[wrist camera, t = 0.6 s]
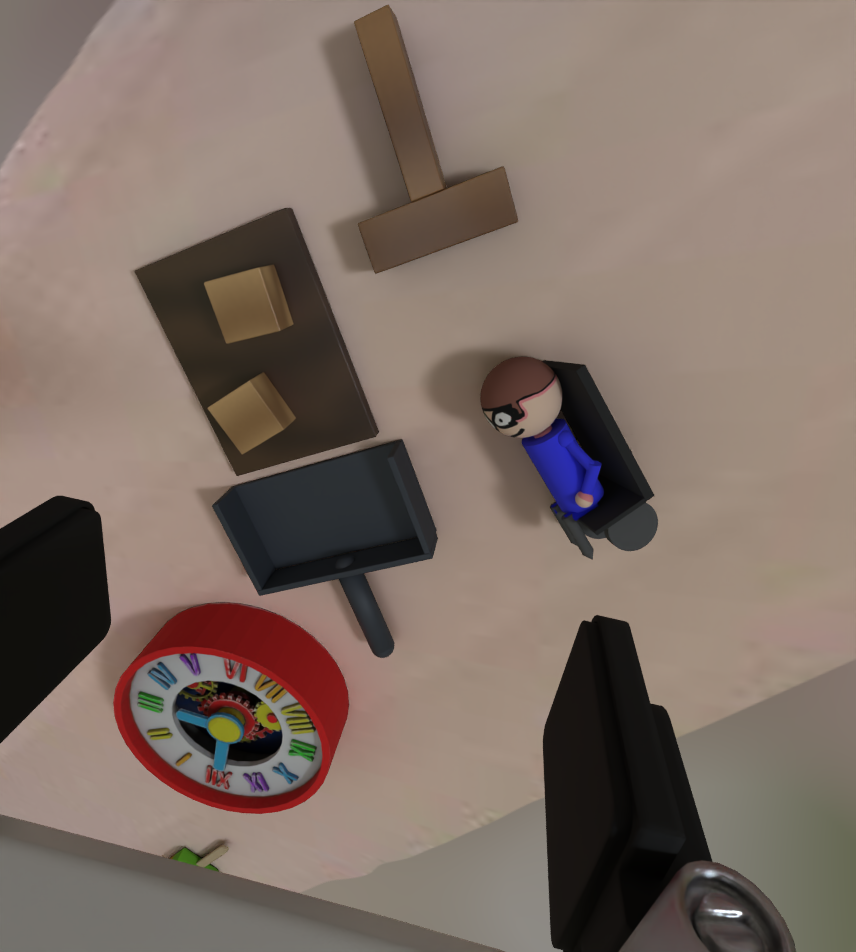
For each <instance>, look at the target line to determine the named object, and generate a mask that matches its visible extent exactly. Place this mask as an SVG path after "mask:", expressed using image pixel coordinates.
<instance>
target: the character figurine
mask: <svg viewBox="0 0 856 952" xmlns="http://www.w3.org/2000/svg"><path fill="white" fill-rule="evenodd" d="M481 406H482V410H483V413H484V415H485V417H486V419H487V420H488V422H489V423H490V424H491V425H492V426H493V427H494V428H495V429H496V430H498V431H499V432H501V433H503V434H505V435H507V436H511V437H516V438H523V439H522V445H523V447H524V448H525V450H526V452H527V453H528V455H529V457H530V458H531V460H532V462H533V463H534V465H535V467H536V468H537V470H538V472H539V474H540V475H541V477H542V479H543V480H544V482H545V484H546V485H547V487H548V489H549V490H550V492H551V494H552V495H553V497H554V499H555V500H556V502H554V503H553V504H551V506H550V508H551V510H552V512H553V513H554V515H555V517H556V518H557V520H558V522H559V523H560V525H561V527H562V528H563V530H564V532H565V533H566V535H567V537H568V538H569V540H570V542H571V543H573V544H575V545H577V546H578V547H579V549H580V550H581V552H582V555H584V556H586V557H588V558H590V559H592V560H593V548H592V546H591V544H590V543H589V541H588V539H587V538H586V536H585V535H587V536H589V537H591V538H595V539H602V538H607V539H608V540H609V541H610V542H611V543H612V544H613V545H615V546H616V547H617V548H619V549H621V550H625V551H635V550H638V549H641V548H643V547H644V546H646V545H647V544H648V543H649V542H650V541H651V540H652V538H653V537H654V535H655V533H656V530H657V526H658V519H657V515H656V512H655V511H654V509H653V508H652V507H651V506H650V505H649V504H647V503H646V501H647V500H649V499H650V498H652V497H653V496H654V494H653V492H652V490H651V488H650V486H649V484H648V483H647V481H646V479H645V477H644V475H643V473H642V471H641V469H640V467H639V466H638V464H637V462H636V460H635V458H634V456H633V454H632V452H631V451H630V449H629V447H628V445H627V443H626V441H625V439H624V437H623V435H622V434H621V432H620V430H619V428H618V426H617V424H616V422H615V420H614V419H613V417H612V415H611V413H610V411H609V409H608V407H607V405H606V403H605V402H604V400H603V398H602V396H601V394H600V392H599V390H598V388H597V387H596V385H595V383H594V381H593V379H592V377H591V375H590V373H589V372H588V370H587V368H586V366H585V365H581V364H573V363H564V362H555V361H546V360H543V361H540V360H537V359H535V358H531V357H514V358H510V359H508V360H505V361H503V362H501V363H500V364H498V365H497V366H496V367H494V368H493V369H492V370H491V371H490V373H489V374H488V375H487V377H486V379H485V381H484V383H483V386H482V390H481ZM560 409H561V410H562V412H563V414H564V416H565V417H566V419H567V421H568V423H569V425H570V426H571V428H572V430H573V432H574V433H575V435H576V437H577V439H578V441H579V442H580V444H581V446H582V448H583V449H582V448H581V447H580V446H579V444H578V442H577V441H576V439H575V437H574V435H573V434H572V432H571V430H570V428H569V426H568V425H567V423H566V421H565V420H564V419H556V417H557V416H558V414H559V411H560ZM584 451H585V452H584Z"/></svg>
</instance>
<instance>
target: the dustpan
mask: <svg viewBox="0 0 856 952" xmlns="http://www.w3.org/2000/svg"><path fill="white" fill-rule="evenodd" d="M212 507H213V509H214V511H215V513H216V515H217V516H218V518H219V520H220V522H221V524H222V526H223V528H224V530H225V532H226V534H227V535H228V537H229V539H230V541H231V543H232V545H233V547H234V549H235V551H236V553H237V554H238V556H239V558H240V560H241V562H242V564H243V566H244V568H245V570H246V571H247V573H248V575H249V577H250V579H251V581H252V583H253V585H254V587H255V589H256V590H257V592H258V594H259V596H261V595H266V594H270V593H275V592H280V591H284V590H289V589H293V588H298V587H303V586H307V585H312V584H317V583H321V582H326V581H330V580H335V579H339V581H340V583H341V585H342V587H343V590H344V592H345V594H346V596H347V598H348V600H349V603H350V605H351V607H352V609H353V611H354V613H355V616H356V618H357V620H358V622H359V624H360V626H361V629H362V631H363V633H364V635H365V637H366V639H367V642H368V644H369V646H370V648H371V650H372V652H373V654H374V655H375V656H377V657H380V658H385V657H388V656H389V655H390V654H391V653H392V652H393V650H394V641H393V638H392V636H391V634H390V632H389V629H388V627H387V625H386V622H385V620H384V618H383V616H382V613H381V611H380V609H379V607H378V604H377V602H376V600H375V598H374V595H373V593H372V591H371V588H370V586H369V584H368V582H367V579H366V577H365V575H364V573H367V572H372V571H377V570H381V569H386V568H390V567H395V566H400V565H404V564H409V563H414V562H418V561H423V560H427V559H432V558H433V555H434V551H435V547H436V543H437V539H438V537H437V535H436V528H435V525H434V522H433V520H432V517H431V514H430V512H429V509H428V506H427V504H426V501H425V498H424V496H423V493H422V490H421V488H420V485H419V482H418V480H417V477H416V474H415V472H414V469H413V466H412V464H411V461H410V458H409V456H408V453H407V450H406V448H405V445H404V442H403V440H402V439H401V440H398V441H394V442H391V443H387V444H384V445H380V446H376V447H373V448H369V449H366V450H362V451H358V452H355V453H351V454H348V455H344V456H340V457H337V458H333V459H330V460H326V461H323V462H319V463H315V464H312V465H308V466H305V467H301V468H297V469H294V470H290V471H287V472H283V473H279V474H276V475H272V476H269V477H265V478H262V479H258V480H254V481H251V482H247V483H244V484H240V485H236V486H233V487H231V488H230V489H229V490H228V491H227V492H226V493H225V494H224V495H223V496H222V497H221V498H220V499H218V500H217V501H216V502H215V503H214V504H213V505H212ZM414 537H417V538H414ZM410 538H412V539H410ZM406 539H408V540H406ZM401 540H404V541H401ZM397 541H399V542H397ZM392 542H395V543H392ZM388 543H390V544H388ZM384 544H386V545H384ZM379 545H382V546H379ZM375 546H377V547H375ZM371 547H373V548H371ZM366 548H369V549H366ZM362 549H364V550H362ZM357 550H360V551H357ZM353 551H355V552H353ZM349 552H351V553H349ZM344 553H347V554H344ZM340 554H342V555H340ZM336 555H338V556H336ZM331 556H334V557H331ZM327 557H329V558H327ZM322 558H325V559H322ZM318 559H320V560H318ZM314 560H316V561H314ZM309 561H312V562H309ZM305 562H307V563H305ZM301 563H303V564H301ZM296 564H299V565H296ZM292 565H294V566H292ZM287 566H290V567H287ZM283 567H285V568H283ZM279 568H281V569H279ZM276 569H277V570H276Z"/></svg>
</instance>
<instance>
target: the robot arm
mask: <svg viewBox="0 0 856 952" xmlns="http://www.w3.org/2000/svg"><path fill="white" fill-rule="evenodd" d="M110 625H111V614H110V604H109V594H108V584H107V574H106V564H105V553H104V543H103V533H102V523H101V517H100V514H99V513H98V512H96V511H95V509H94V507H93V505H92V504H91V503H89V502H87V501H83V500H79V499H74V498H70V497H65V496H55V497H53V498H51V499H49V500H48V501H46V502H44V503H43V504H41V505H39V506H38V507H36V508H34V509H32V510H31V511H29V512H27V513H26V514H24V515H22V516H21V517H19V518H17V519H16V520H14V521H12V522H11V523H9V524H7V525H6V526H4V527H2V528H1V529H0V743H1V742H2V741H3V740H4V739H5V738H6V737H7V736H8V735H9V734H10V733H11V732H12V731H13V730H14V729H15V728H16V727H17V726H18V725H19V724H20V723H21V722H22V721H23V720H24V719H25V718H26V717H27V716H28V715H29V714H30V713H31V712H32V711H33V710H34V709H35V708H36V707H37V706H38V705H39V704H40V703H41V702H42V701H43V700H44V699H45V698H46V697H47V696H48V695H49V694H50V693H51V692H52V691H53V690H54V689H55V688H56V687H57V686H58V685H59V684H60V683H61V682H62V681H63V680H64V679H65V678H66V677H67V676H68V675H69V673H70V672H71V671H72V670H73V669H74V668H75V667H76V666H77V665H78V664H79V663H80V662H81V661H82V660H83V659H84V658H85V657H86V656H87V655H88V654H89V653H90V652H91V651H92V650H93V649H94V648H95V647H96V646H97V645H98V644H99V643H100V642H101V641H102V640H103V639H104V638H105V636H106V635H107V633H108V631H109V628H110ZM543 759H544V783H545V805H546V806H545V808H546V829H547V830H546V831H547V856H548V880H549V904H550V925H551V926H550V927H551V941H552V945H553V947H554V948H557V949H561V950H563V952H796V949H795V944H794V940H793V938H792V936H791V933H790V931H789V929H788V927H787V925H786V922H785V920H784V919H783V917H782V916H781V914H780V913H779V912H778V910H777V909H776V907H775V906H774V905H773V903H772V902H771V900H770V899H769V898H768V897H767V896H766V895H765V894H764V893H763V892H762V891H761V890H760V889H759V888H758V887H757V886H756V885H755V884H754V883H752V882H751V881H750V880H748V879H747V878H745V877H744V876H742V875H741V874H740V873H738V872H737V871H735V870H733V869H731V868H728V867H726V866H724V865H722V864H720V863H716V862H712V859H711V855H710V852H709V849H708V845H707V842H706V838H705V835H704V832H703V829H702V825H701V822H700V819H699V815H698V812H697V808H696V805H695V801H694V798H693V795H692V791H691V788H690V785H689V781H688V778H687V774H686V771H685V768H684V765H683V761H682V758H681V755H680V751H679V748H678V744H677V741H676V737H675V734H674V731H673V727H672V724H671V721H670V718H669V715H668V713H667V711H666V710H665V708H664V707H663V706H659V705H655V704H650V701H649V697H648V693H647V690H646V686H645V682H644V678H643V675H642V671H641V667H640V663H639V659H638V656H637V652H636V648H635V644H634V641H633V637H632V633H631V629H630V626H629V624H628V623H627V622H625V621H621V620H617V619H612V618H608V617H603V616H599V615H596V616H594V618H593V619H592V622H589V621H582V623H581V625H580V627H579V630H578V633H577V636H576V638H575V641H574V644H573V647H572V650H571V653H570V656H569V658H568V661H567V664H566V667H565V670H564V673H563V675H562V678H561V681H560V684H559V687H558V690H557V693H556V695H555V698H554V701H553V704H552V707H551V710H550V712H549V715H548V718H547V721H546V724H545V729H544V735H543ZM0 952H505V951H502V950H499V949H496V948H492V947H488V946H485V945H482V944H478V943H474V942H471V941H468V940H464V939H461V938H458V937H454V936H451V935H447V934H444V933H440V932H437V931H433V930H430V929H427V928H423V927H420V926H416V925H412V924H409V923H406V922H403V921H399V920H396V919H392V918H388V917H385V916H381V915H377V914H374V913H370V912H366V911H363V910H359V909H355V908H351V907H348V906H344V905H340V904H337V903H333V902H329V901H326V900H322V899H318V898H315V897H311V896H307V895H303V894H300V893H296V892H292V891H289V890H285V889H281V888H277V887H274V886H270V885H266V884H263V883H259V882H255V881H252V880H248V879H244V878H240V877H237V876H233V875H229V874H226V873H222V872H218V871H214V870H210V869H207V868H203V867H199V866H195V865H192V864H188V863H184V862H180V861H176V860H173V859H169V858H165V857H161V856H158V855H154V854H150V853H146V852H142V851H139V850H135V849H131V848H127V847H123V846H120V845H116V844H112V843H108V842H104V841H101V840H97V839H93V838H89V837H85V836H82V835H78V834H74V833H70V832H66V831H63V830H59V829H55V828H51V827H47V826H43V825H40V824H36V823H32V822H28V821H24V820H20V819H16V818H12V817H9V816H5V815H1V814H0Z"/></svg>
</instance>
